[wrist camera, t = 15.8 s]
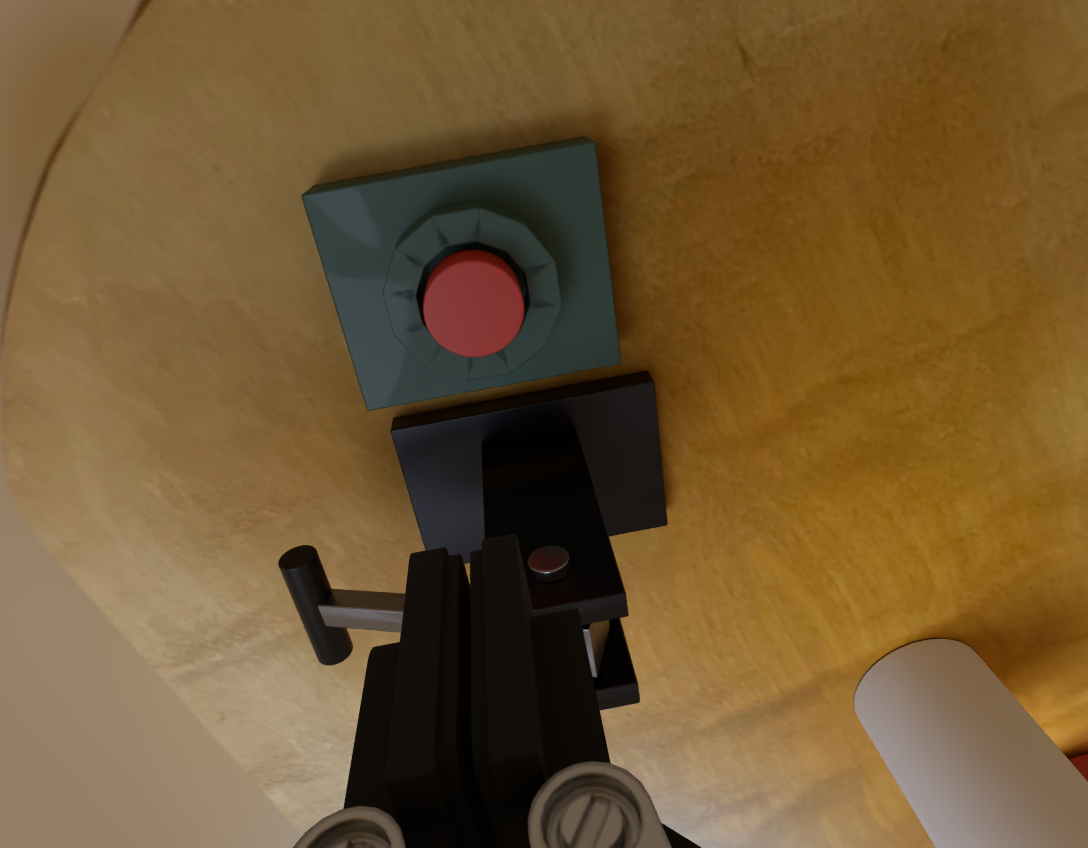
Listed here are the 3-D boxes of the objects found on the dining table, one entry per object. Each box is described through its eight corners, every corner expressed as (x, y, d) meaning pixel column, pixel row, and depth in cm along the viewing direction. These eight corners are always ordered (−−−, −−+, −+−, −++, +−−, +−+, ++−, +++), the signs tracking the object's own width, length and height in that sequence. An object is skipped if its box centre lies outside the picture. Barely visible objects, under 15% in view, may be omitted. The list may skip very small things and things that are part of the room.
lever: (335, 630, 30) (305, 673, 28) (298, 536, 28) (262, 576, 26) (614, 654, 27) (602, 706, 25) (598, 548, 24) (583, 597, 22)
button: (437, 348, 28) (435, 366, 26) (415, 258, 26) (412, 270, 24) (528, 332, 28) (532, 347, 26) (512, 240, 26) (514, 251, 24)
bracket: (432, 554, 36) (417, 777, 25) (392, 417, 33) (353, 606, 21) (661, 511, 37) (749, 712, 25) (647, 370, 33) (743, 531, 22)
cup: (1005, 646, 44) (1265, 926, 29) (942, 738, 47) (1148, 1029, 33) (889, 631, 42) (1103, 919, 28) (832, 727, 46) (998, 1028, 31)
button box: (373, 390, 32) (361, 431, 28) (311, 185, 28) (289, 203, 24) (612, 346, 32) (630, 381, 29) (586, 135, 28) (604, 145, 24)
